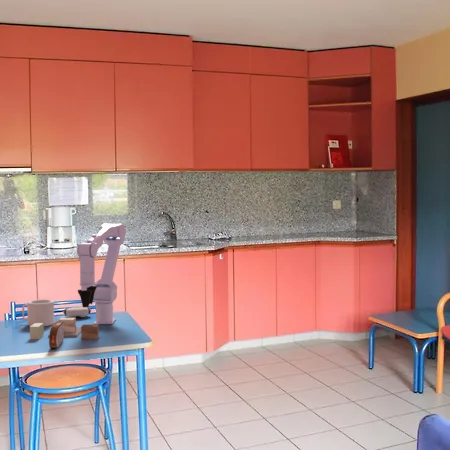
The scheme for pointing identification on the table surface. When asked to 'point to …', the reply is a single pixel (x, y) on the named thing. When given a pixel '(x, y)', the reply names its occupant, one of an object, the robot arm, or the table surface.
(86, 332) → the walnut block
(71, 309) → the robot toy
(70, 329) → the tan block
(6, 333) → the table surface
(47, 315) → the mug
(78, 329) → the slate plate
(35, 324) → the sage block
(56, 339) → the tin
